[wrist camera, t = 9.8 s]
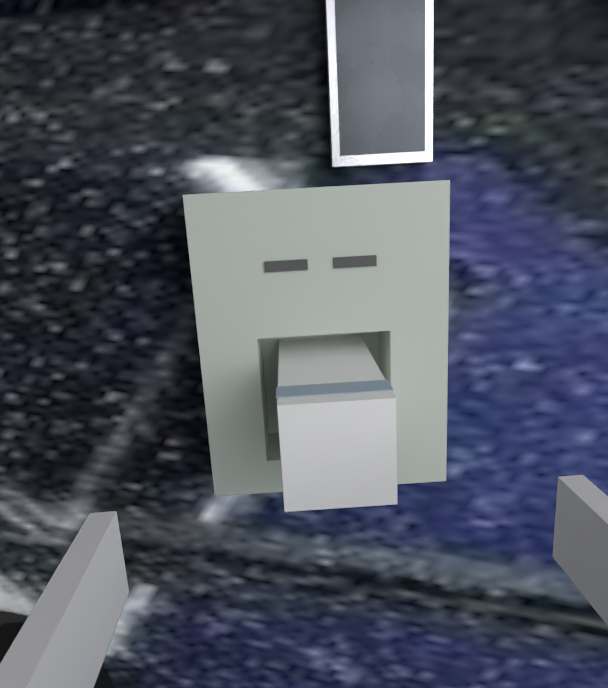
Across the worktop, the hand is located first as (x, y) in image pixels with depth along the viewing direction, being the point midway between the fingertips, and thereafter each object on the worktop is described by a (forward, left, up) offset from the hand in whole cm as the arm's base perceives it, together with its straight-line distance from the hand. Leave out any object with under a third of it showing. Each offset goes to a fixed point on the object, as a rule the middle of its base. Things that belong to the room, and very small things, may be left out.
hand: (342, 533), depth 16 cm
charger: (0, 0, -15) cm, 15 cm away
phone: (+4, +16, -15) cm, 22 cm away
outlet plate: (0, +3, -15) cm, 15 cm away
